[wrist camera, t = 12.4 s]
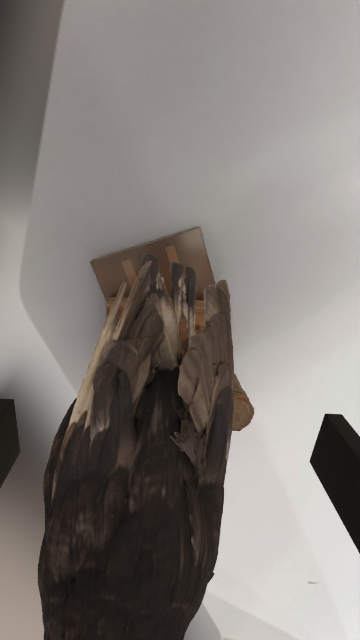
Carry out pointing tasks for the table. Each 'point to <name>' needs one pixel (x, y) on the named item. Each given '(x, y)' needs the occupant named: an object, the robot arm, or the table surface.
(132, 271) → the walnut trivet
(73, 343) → the table surface
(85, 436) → the bird figurine
